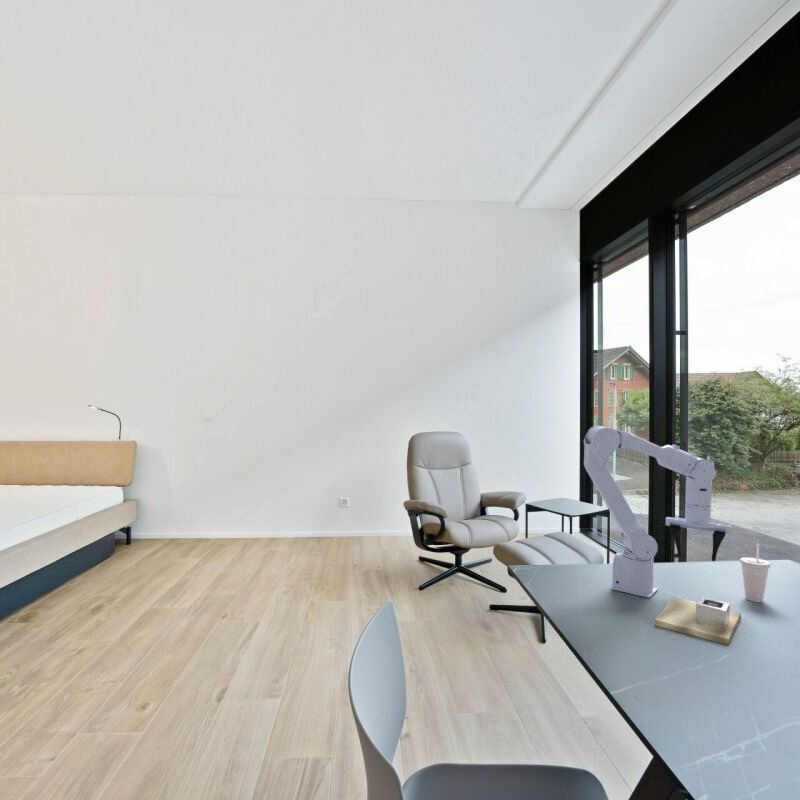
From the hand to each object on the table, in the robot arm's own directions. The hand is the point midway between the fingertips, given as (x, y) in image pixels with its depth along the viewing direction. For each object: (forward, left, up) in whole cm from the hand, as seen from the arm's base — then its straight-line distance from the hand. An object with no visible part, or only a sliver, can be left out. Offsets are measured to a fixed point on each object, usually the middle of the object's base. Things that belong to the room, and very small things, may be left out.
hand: (696, 557), depth 138 cm
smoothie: (+12, +6, -10) cm, 17 cm away
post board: (+4, -19, -9) cm, 22 cm away
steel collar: (+7, -21, -8) cm, 23 cm away
